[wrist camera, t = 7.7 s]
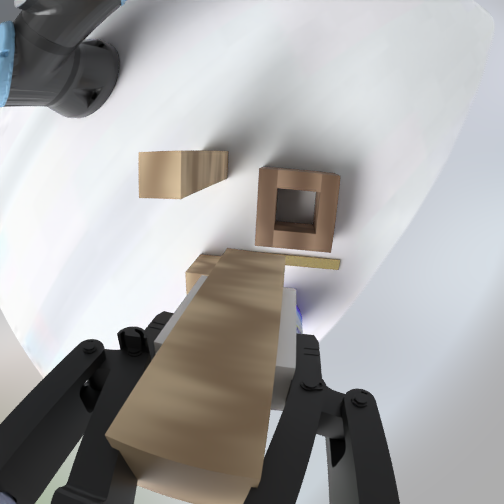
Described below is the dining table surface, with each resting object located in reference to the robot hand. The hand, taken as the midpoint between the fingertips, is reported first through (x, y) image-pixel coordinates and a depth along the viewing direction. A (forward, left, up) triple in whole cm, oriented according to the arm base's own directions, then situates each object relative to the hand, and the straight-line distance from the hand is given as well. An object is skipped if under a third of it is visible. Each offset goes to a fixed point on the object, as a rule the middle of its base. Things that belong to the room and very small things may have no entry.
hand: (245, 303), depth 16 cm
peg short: (-9, -10, -25) cm, 28 cm away
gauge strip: (+3, -7, -25) cm, 26 cm away
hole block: (+3, +1, -25) cm, 25 cm away
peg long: (-9, +6, -25) cm, 28 cm away
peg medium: (0, 0, -4) cm, 4 cm away
